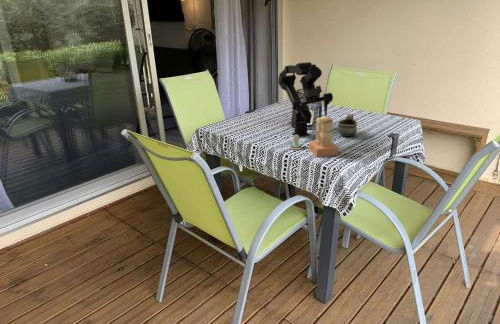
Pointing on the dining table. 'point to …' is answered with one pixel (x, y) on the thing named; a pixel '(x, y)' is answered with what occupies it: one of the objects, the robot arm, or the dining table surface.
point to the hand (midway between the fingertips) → (316, 118)
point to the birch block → (324, 131)
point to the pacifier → (296, 143)
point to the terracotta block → (323, 149)
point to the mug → (347, 126)
